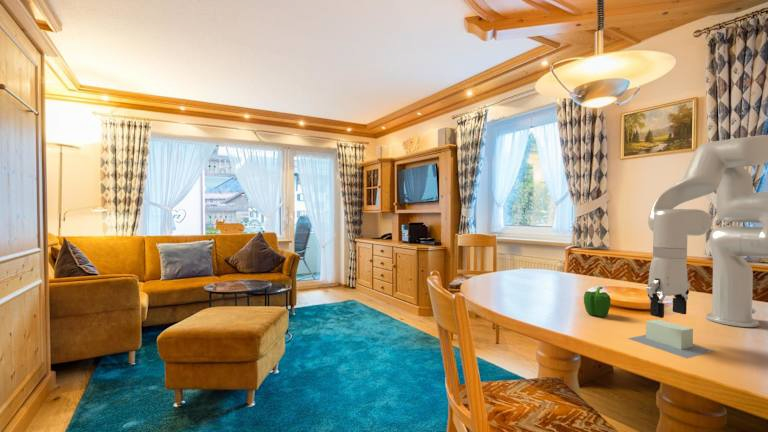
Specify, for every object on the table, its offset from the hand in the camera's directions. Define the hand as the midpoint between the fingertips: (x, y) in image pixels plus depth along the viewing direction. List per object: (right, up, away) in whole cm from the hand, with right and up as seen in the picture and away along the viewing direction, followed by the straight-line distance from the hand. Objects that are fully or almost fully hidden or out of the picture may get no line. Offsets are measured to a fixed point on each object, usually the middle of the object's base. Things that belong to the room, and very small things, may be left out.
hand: (668, 314), depth 101 cm
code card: (-1, -8, -1) cm, 8 cm away
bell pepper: (-4, -8, +26) cm, 28 cm away
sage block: (0, -8, 0) cm, 8 cm away
